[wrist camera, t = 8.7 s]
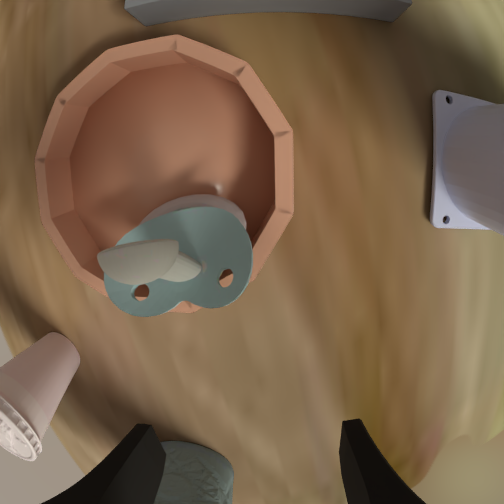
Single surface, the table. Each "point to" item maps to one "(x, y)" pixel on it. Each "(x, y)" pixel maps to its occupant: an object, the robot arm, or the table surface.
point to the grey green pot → (194, 475)
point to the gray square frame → (261, 8)
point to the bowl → (161, 150)
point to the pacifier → (180, 256)
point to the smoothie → (34, 392)
